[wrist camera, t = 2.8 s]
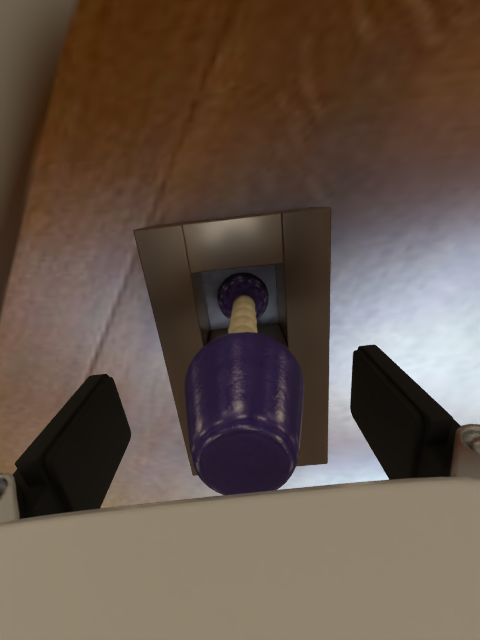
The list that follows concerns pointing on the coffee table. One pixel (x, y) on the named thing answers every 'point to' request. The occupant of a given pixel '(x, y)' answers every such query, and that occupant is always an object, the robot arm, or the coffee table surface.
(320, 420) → the frame
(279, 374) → the toy lamp
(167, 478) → the coffee table surface
